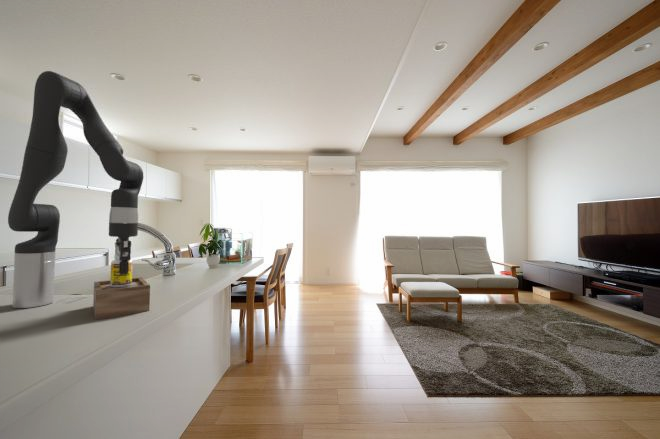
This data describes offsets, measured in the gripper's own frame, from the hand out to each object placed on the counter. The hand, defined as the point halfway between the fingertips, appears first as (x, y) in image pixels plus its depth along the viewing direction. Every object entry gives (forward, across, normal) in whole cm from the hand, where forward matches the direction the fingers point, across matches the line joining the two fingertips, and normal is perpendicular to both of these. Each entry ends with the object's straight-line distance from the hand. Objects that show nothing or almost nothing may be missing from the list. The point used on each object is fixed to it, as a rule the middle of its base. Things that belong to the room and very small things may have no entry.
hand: (122, 271), depth 88 cm
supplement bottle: (+5, 0, 0) cm, 5 cm away
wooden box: (+12, 0, 0) cm, 12 cm away
